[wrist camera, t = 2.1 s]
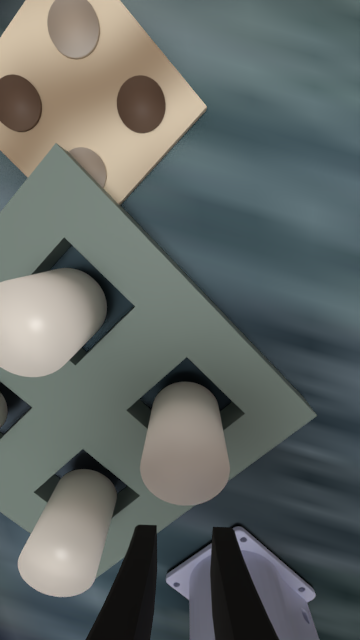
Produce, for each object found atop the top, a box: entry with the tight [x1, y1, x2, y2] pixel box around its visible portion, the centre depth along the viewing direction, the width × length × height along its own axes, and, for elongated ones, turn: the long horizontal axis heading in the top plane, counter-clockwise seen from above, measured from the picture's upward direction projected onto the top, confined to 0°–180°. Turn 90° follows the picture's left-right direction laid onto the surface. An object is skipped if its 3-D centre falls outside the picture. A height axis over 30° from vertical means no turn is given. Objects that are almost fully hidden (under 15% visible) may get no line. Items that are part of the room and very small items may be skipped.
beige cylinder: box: [140, 382, 230, 506], centre depth 15 cm, size 4×4×4 cm
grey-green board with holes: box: [0, 143, 317, 578], centre depth 18 cm, size 20×20×2 cm
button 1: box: [18, 469, 117, 597], centre depth 17 cm, size 4×4×4 cm
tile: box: [0, 0, 207, 205], centre depth 15 cm, size 9×9×1 cm
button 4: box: [0, 268, 107, 377], centre depth 13 cm, size 4×4×4 cm
